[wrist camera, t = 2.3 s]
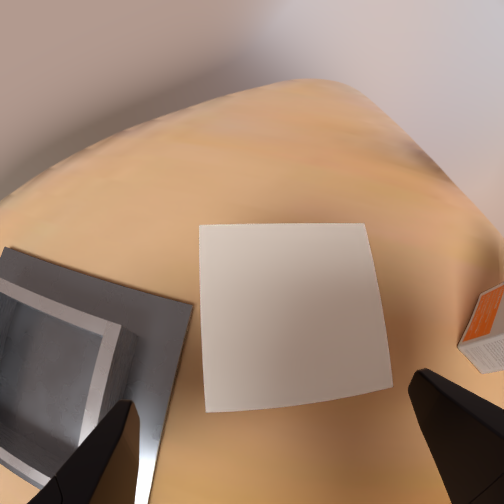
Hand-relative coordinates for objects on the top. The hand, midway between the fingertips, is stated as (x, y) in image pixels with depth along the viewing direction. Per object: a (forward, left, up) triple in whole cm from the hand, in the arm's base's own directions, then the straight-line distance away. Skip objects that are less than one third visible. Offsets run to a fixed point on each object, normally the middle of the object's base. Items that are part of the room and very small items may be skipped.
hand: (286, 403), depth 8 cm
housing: (-4, +13, -10) cm, 16 cm away
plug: (+2, +1, -10) cm, 10 cm away
